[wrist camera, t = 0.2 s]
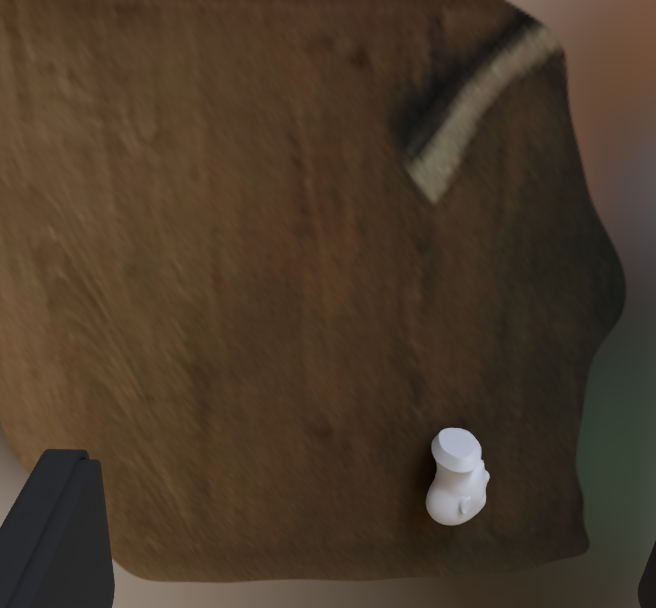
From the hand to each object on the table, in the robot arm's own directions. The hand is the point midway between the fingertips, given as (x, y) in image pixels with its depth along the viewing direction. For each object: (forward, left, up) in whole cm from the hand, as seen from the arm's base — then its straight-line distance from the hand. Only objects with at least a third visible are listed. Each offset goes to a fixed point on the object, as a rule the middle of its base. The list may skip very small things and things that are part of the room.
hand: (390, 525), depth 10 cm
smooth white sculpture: (+24, +12, -31) cm, 41 cm away
